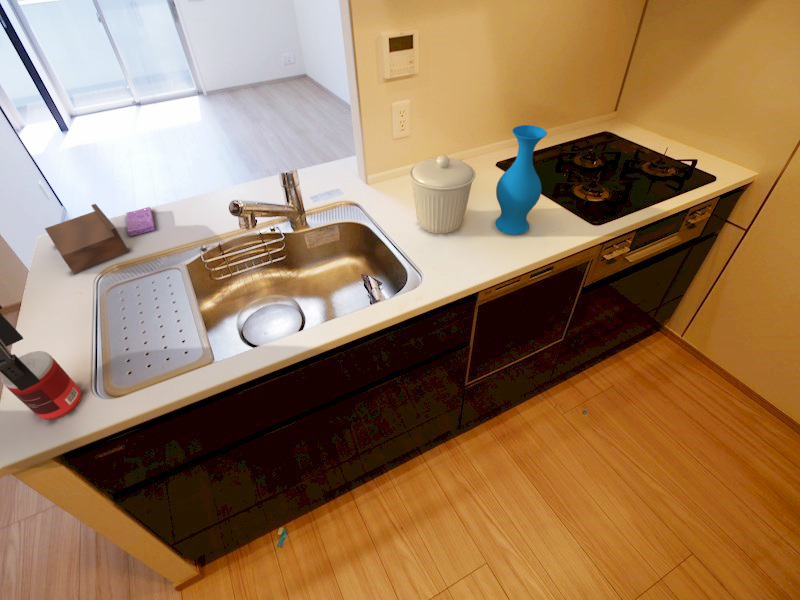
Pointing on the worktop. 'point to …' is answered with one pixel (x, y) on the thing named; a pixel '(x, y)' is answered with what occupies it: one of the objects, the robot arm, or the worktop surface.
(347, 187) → the worktop surface
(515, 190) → the vase
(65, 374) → the canned food
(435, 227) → the canister
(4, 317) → the robot arm
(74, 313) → the worktop surface
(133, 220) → the sponge
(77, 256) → the wooden lipped board
